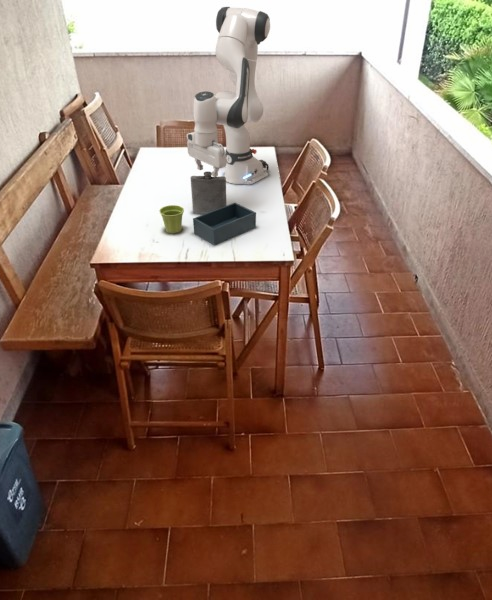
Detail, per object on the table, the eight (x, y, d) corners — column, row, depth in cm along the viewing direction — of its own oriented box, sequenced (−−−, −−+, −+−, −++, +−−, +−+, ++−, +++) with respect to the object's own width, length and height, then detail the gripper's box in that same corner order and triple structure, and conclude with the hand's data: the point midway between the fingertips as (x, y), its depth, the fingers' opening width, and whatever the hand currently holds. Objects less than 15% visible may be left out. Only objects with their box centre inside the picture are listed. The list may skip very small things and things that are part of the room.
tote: (235, 216, 203) (235, 202, 199) (255, 227, 195) (256, 212, 192) (193, 233, 191) (192, 218, 187) (214, 245, 183) (213, 229, 180)
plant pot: (164, 224, 197) (161, 204, 192) (187, 224, 197) (185, 205, 191) (159, 235, 189) (157, 215, 184) (183, 236, 189) (181, 215, 184)
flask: (226, 215, 204) (225, 174, 193) (192, 214, 204) (189, 173, 193) (227, 211, 207) (225, 171, 196) (193, 210, 207) (190, 170, 196)
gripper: (230, 143, 182) (230, 178, 190) (196, 130, 194) (198, 164, 202) (217, 146, 179) (218, 182, 187) (183, 133, 190) (186, 167, 199)
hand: (207, 172), depth 194 cm, fingers open, 8 cm apart
